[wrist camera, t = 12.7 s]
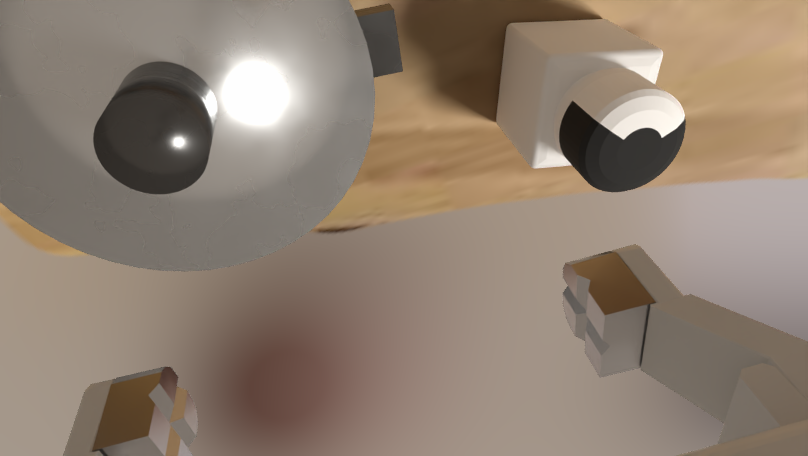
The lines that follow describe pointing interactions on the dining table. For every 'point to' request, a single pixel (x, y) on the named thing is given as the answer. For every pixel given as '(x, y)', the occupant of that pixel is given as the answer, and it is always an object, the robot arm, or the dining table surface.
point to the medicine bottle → (588, 102)
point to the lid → (181, 124)
